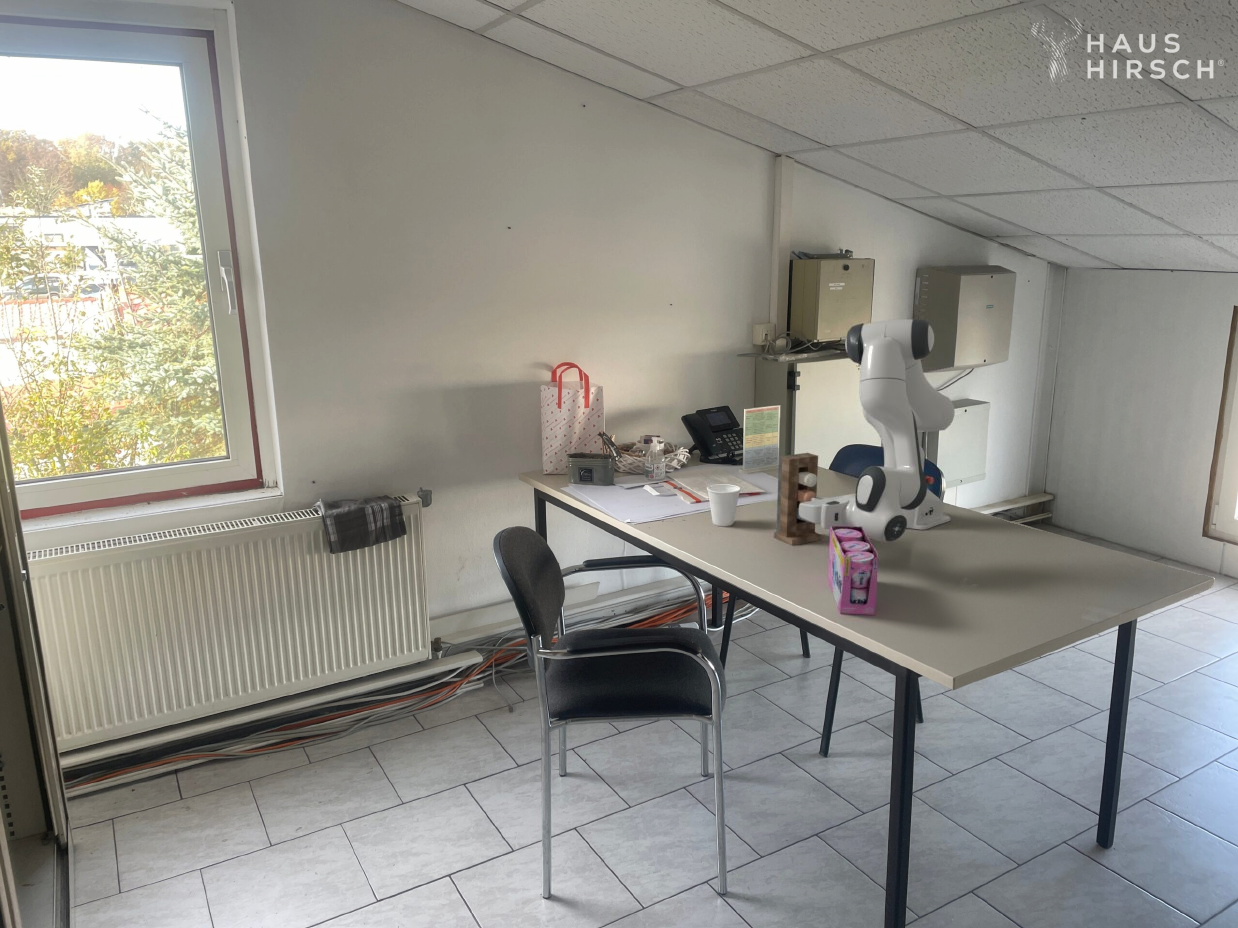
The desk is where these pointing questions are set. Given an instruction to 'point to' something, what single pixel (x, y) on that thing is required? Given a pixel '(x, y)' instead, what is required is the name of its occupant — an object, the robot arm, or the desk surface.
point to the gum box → (853, 570)
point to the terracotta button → (805, 495)
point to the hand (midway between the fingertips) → (815, 499)
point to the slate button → (799, 516)
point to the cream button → (807, 479)
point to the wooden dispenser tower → (794, 499)
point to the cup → (723, 503)
